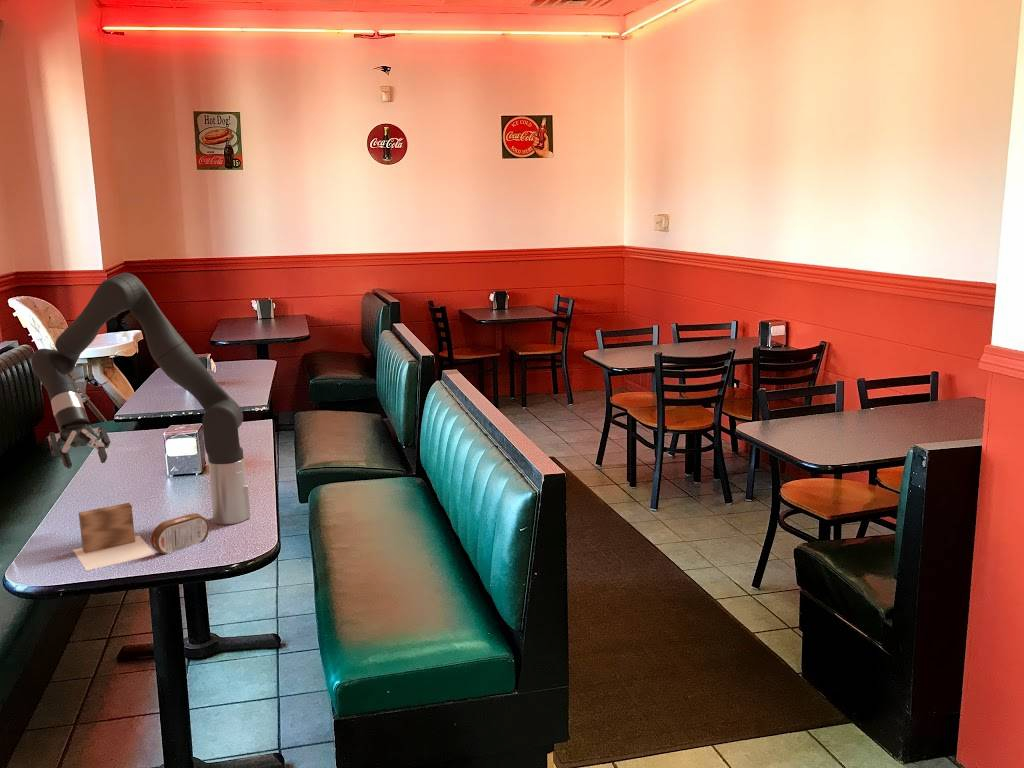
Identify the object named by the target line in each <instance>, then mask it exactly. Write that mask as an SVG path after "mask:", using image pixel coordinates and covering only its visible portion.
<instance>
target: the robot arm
mask: <svg viewBox="0 0 1024 768" xmlns="http://www.w3.org/2000/svg"><path fill="white" fill-rule="evenodd" d="M128 310H129V311H130V313H131V314H132V315H133V316H134V317H135V318H136V320H137V321H138V324H140V326H141V328H142V330H143V333H144V335H145V340H146V343H147V348H148V350H149V353H150V355H151V357H152V359H153V360H154V362H155V363H156V364H157V365H158V366H159V368H160V369H161V370H162V371H163V373H164V375H166V376H167V377H168V378H169V379H170V380H172V381H173V382H174V383H176V384H177V385H178V386H180V387H182V389H184V390H186V391H187V392H188V393H189V394H191V395H192V396H193V398H195V400H196V401H198V402H197V403H198V404H200V406H201V407H202V409H203V410H204V411H205V412H204V415H203V417H202V433H203V441H204V449H205V453H206V455H207V461H208V470H209V473H208V474H209V484H210V496H211V509H212V520H213V523H215V524H219V525H233V524H234V525H235V524H238V523H242V522H244V521H245V520H247V519H251V506H250V494H249V493H250V492H249V485H247V484H246V473H245V460H244V459H245V458H244V450H243V447H241V444H240V439H239V438H240V437H239V428H240V426H241V425H242V423H243V420H244V414H243V410H242V408H241V407H240V405H239V404H238V402H236V401H235V399H233V398H232V397H231V396H230V394H228V393H227V391H225V389H224V388H222V386H220V384H219V383H218V382H217V381H216V379H214V377H213V376H212V374H211V373H210V372H209V370H208V369H207V368H206V367H205V365H204V363H202V361H201V360H200V359H199V358H198V356H197V355H196V354H195V352H194V350H193V349H192V348H191V347H190V346H189V345H188V343H187V342H186V341H185V340H184V338H183V336H181V335H180V333H178V332H177V330H176V329H175V327H174V325H172V324H171V322H170V321H169V319H168V318H167V317H166V315H165V314H164V313H163V312H162V310H161V309H160V308H159V306H158V304H157V303H156V301H155V300H154V298H153V297H152V295H151V293H150V292H149V290H148V288H147V287H146V286H145V285H144V283H143V282H142V281H141V280H140V279H139V278H138V277H137V276H136V275H134V274H133V273H131V272H130V273H129V272H122V273H119V274H116V275H113V276H111V277H108V278H106V279H105V280H103V281H102V282H101V283H100V284H99V286H98V287H96V290H95V291H94V293H93V295H92V297H91V298H90V300H89V301H88V302H87V305H86V306H85V307H84V308H83V310H82V311H81V312H80V314H79V315H78V316H77V317H76V318H75V319H74V320H73V321H72V322H71V323H70V324H69V325H68V327H66V328H65V329H64V330H63V331H62V332H61V334H59V336H58V337H57V339H56V340H55V342H54V344H55V345H54V346H55V348H56V349H52V348H38V349H37V350H35V351H34V352H33V354H32V355H31V359H30V360H31V361H30V364H31V367H32V371H33V373H34V374H35V376H36V377H37V379H38V380H39V381H40V383H41V384H42V385H43V387H44V388H45V389H46V391H47V394H48V398H49V401H50V404H51V409H52V414H53V417H54V420H55V422H56V426H57V428H58V431H59V433H55V432H53V431H50V432H49V435H48V437H47V440H48V443H49V449H50V451H51V452H50V453H51V456H52V457H57V456H58V457H60V459H61V461H62V464H63V466H64V467H65V468H66V469H67V470H69V469H72V467H73V463H72V461H71V458H70V454H69V452H68V451H69V449H70V447H72V448H78V447H85V446H87V445H88V446H89V447H90V448H93V449H95V450H97V455H98V457H99V460H100V463H101V464H106V462H107V459H108V454H107V451H106V449H108V448H109V446H110V444H111V439H110V437H109V435H108V432H107V430H106V428H105V426H104V425H103V424H100V425H99V427H95V428H93V427H92V425H91V423H90V420H89V417H88V415H87V412H86V409H85V406H84V403H83V400H82V399H81V396H80V393H79V392H78V388H77V386H76V383H75V381H74V379H73V378H72V377H70V376H67V375H69V374H71V373H72V372H73V371H74V368H75V367H76V365H77V362H78V361H79V358H80V356H81V354H82V353H83V352H84V351H85V350H86V349H87V348H88V347H89V346H90V345H91V343H93V341H95V339H96V337H97V335H98V333H99V332H100V329H101V328H102V327H103V326H104V325H105V324H106V323H107V322H108V321H109V320H111V319H112V318H114V317H115V316H116V315H118V314H120V313H123V312H126V311H128ZM94 434H95V435H96V436H97V437H96V436H95V435H94ZM98 437H99V439H100V440H101V441H100V440H99V439H98ZM59 439H60V440H61V441H63V443H64V445H63V447H62V449H61V448H59V446H58V440H59Z"/></svg>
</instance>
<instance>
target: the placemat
mask: <svg viewBox="0 0 1024 768" xmlns="http://www.w3.org/2000/svg"><path fill="white" fill-rule="evenodd" d="M72 551H73V552H74V554H75V555H76V557H77V559H78V560H79V562H80V563H81V565H82V566H83V568H84V570H85V571H91V570H95V569H99V568H103V567H108V566H112V565H116V564H120V563H125V562H129V561H133V560H138V559H142V558H143V559H144V558H147V557H151V556H155V555H156V553H155V551H153V550H152V548H151V547H150V546H149V545H148V544H147V542H145V541H144V539H143V538H142V537H141V535H135V542H133V543H129V544H124V545H120V546H115V547H111V548H106V549H101V550H97V551H92V552H88V553H85V552H84V551H83V547H79V548H75V549H72Z"/></svg>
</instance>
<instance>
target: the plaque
mask: <svg viewBox="0 0 1024 768" xmlns="http://www.w3.org/2000/svg"><path fill="white" fill-rule="evenodd" d="M132 507H133V506H132V504H131V503H130V502H126V503H121V504H115V505H111V506H106V507H99V508H95V509H90V510H85V511H79V512H78V518H79V528H80V537H81V546H82V547H81V548H83V551H84V552H85V553H88V552H92V551H97V550H101V549H106V548H111V547H115V546H120V545H124V544H129V543H133V542H135V536H136V535H135V526H134V517H133V515H134V514H133V508H132Z"/></svg>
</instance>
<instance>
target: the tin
mask: <svg viewBox="0 0 1024 768" xmlns="http://www.w3.org/2000/svg"><path fill="white" fill-rule="evenodd" d="M209 524H210V523H209V521H208V520H207V519H206V518H205V517H204V516H202V515H201V514H199V513H196V512H193V513H188V514H185V515H182V516H178V517H175V518H172V519H171V518H170V519H168V520H165V521H162V522H161V523H159V524H158V525H157V526H156V527H155V528H154V529H153V532H152V533H151V537H150V544H151V547H152V548H153V550H154V551H156V552H157V553H161V554H162V555H168V554H170V553H174V552H176V551H179V550H183V549H185V548H189V547H192V546H194V545H197V544H200V543H204V541H205V540H206V539H207V537H208V535H209V530H210V525H209Z"/></svg>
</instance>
